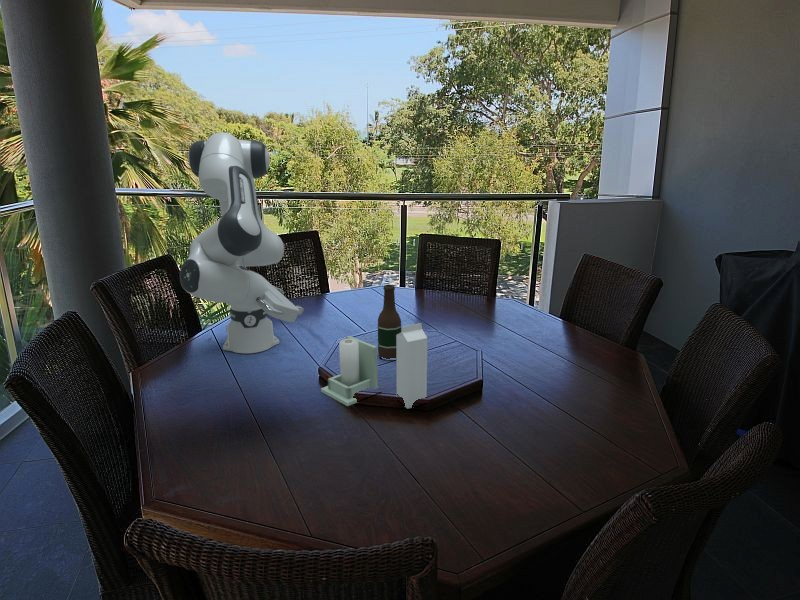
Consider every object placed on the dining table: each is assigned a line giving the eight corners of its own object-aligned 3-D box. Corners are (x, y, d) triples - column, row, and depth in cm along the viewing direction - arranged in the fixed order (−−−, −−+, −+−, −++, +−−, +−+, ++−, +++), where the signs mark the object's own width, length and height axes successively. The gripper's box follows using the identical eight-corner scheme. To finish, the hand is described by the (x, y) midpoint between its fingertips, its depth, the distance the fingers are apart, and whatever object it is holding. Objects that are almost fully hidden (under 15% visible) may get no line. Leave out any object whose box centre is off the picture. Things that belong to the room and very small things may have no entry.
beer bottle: (398, 362, 171) (398, 289, 164) (375, 360, 172) (374, 288, 165) (403, 353, 178) (403, 283, 171) (380, 351, 180) (380, 281, 173)
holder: (320, 391, 151) (318, 345, 147) (354, 379, 159) (353, 334, 155) (347, 406, 142) (345, 357, 138) (381, 392, 150) (380, 345, 146)
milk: (426, 404, 144) (428, 326, 137) (407, 409, 141) (408, 330, 135) (414, 394, 149) (416, 319, 143) (395, 399, 146) (396, 323, 140)
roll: (338, 387, 151) (335, 340, 147) (354, 383, 154) (353, 336, 150) (346, 394, 147) (344, 345, 143) (363, 389, 150) (361, 342, 145)
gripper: (275, 299, 121) (319, 310, 132) (234, 261, 133) (277, 274, 144) (263, 323, 122) (307, 332, 133) (223, 283, 134) (266, 294, 145)
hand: (291, 301), depth 139 cm, fingers open, 8 cm apart
